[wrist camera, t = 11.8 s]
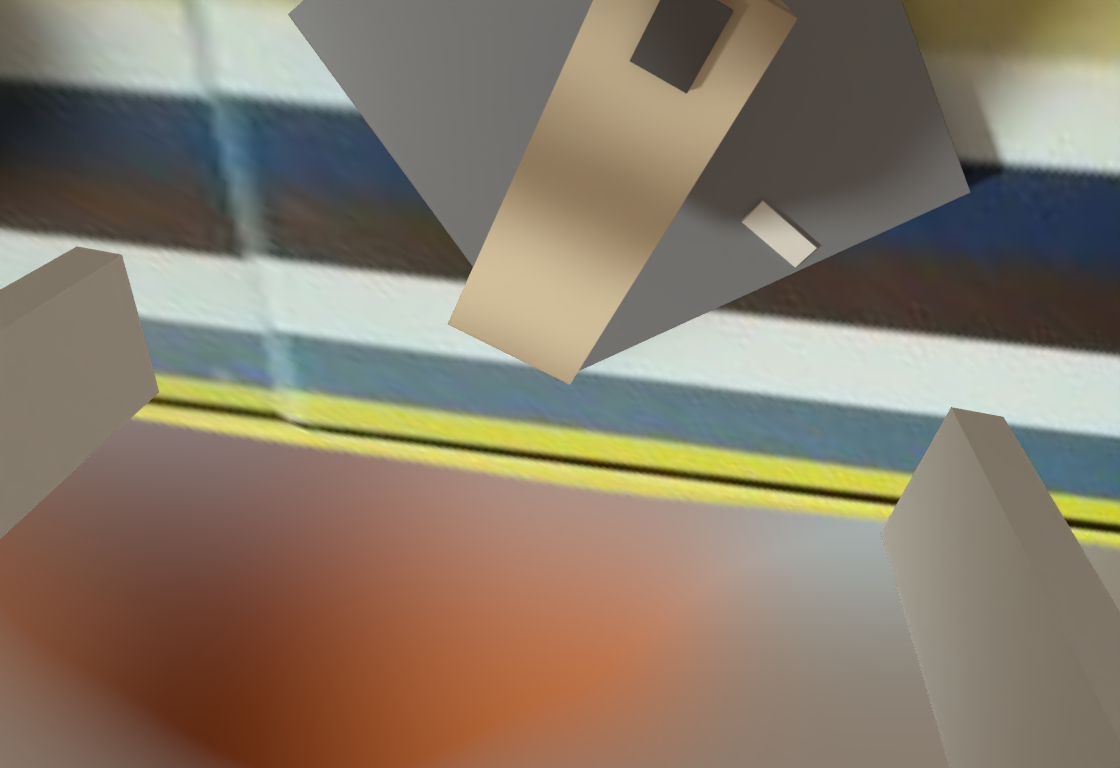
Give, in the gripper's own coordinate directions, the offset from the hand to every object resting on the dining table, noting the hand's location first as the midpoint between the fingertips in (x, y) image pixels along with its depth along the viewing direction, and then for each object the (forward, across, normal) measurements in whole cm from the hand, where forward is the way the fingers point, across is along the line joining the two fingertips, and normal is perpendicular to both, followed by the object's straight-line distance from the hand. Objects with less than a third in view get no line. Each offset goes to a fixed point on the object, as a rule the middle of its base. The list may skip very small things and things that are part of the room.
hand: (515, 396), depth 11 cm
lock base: (+22, 0, 0) cm, 22 cm away
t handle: (+16, 0, 0) cm, 16 cm away
